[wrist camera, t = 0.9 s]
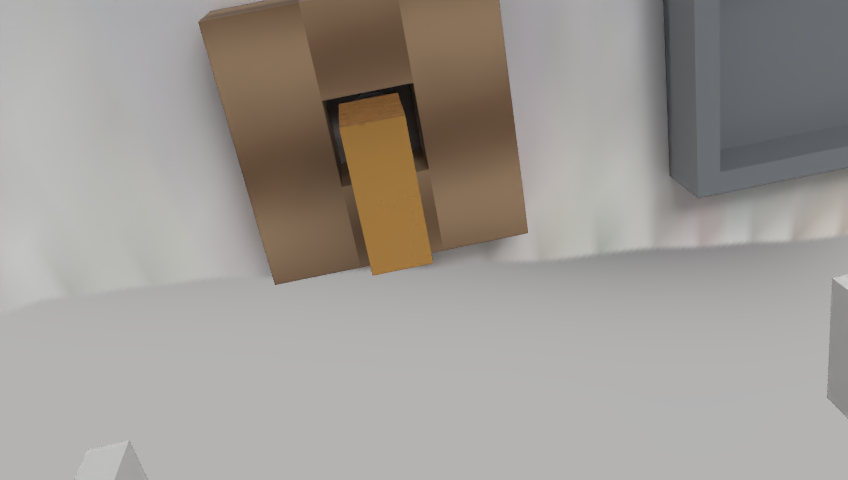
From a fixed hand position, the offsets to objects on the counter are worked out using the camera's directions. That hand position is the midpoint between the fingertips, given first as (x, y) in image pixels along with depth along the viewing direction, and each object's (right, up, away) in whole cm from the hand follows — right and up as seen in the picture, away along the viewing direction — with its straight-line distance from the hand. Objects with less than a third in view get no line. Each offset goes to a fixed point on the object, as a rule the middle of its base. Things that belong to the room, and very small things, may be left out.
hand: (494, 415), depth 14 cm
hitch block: (-4, +9, +18) cm, 21 cm away
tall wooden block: (-4, +9, +18) cm, 21 cm away
